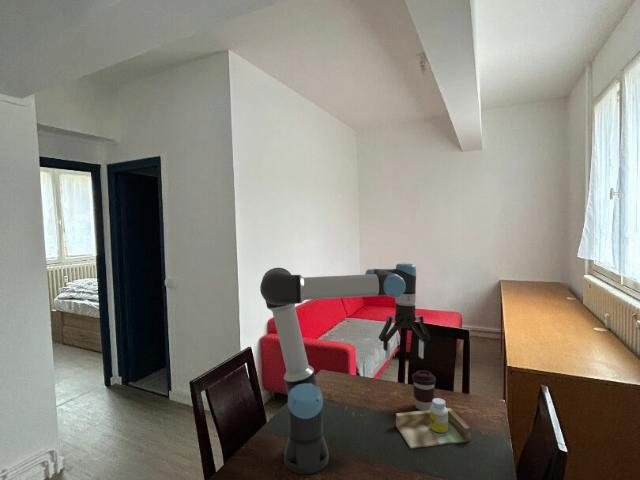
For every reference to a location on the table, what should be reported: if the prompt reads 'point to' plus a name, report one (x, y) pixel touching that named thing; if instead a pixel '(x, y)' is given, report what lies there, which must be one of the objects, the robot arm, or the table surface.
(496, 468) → the table surface
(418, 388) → the coffee cup
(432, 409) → the pill bottle
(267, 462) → the table surface
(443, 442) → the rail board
